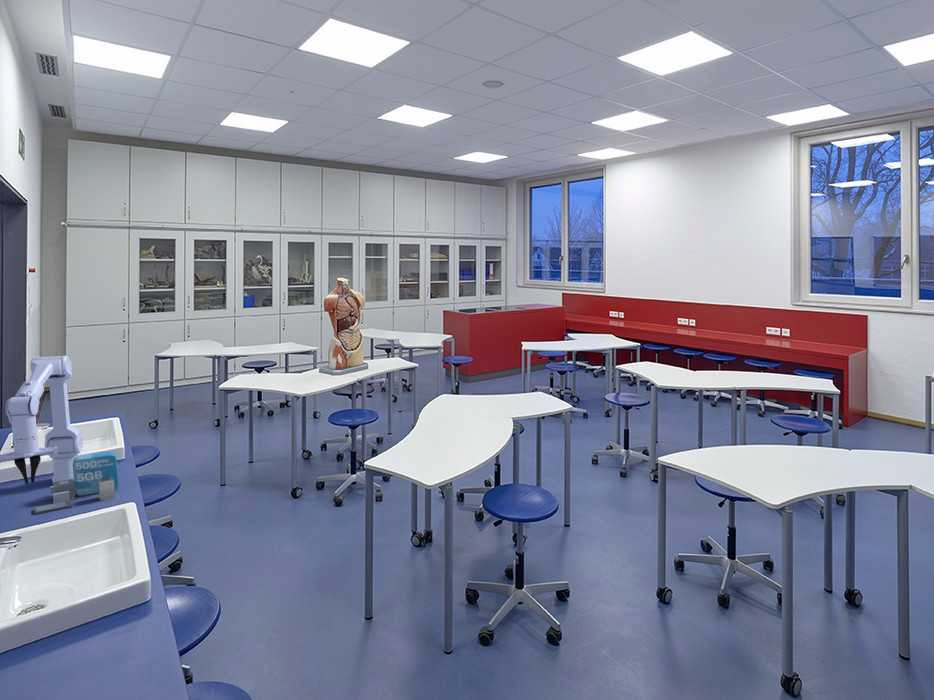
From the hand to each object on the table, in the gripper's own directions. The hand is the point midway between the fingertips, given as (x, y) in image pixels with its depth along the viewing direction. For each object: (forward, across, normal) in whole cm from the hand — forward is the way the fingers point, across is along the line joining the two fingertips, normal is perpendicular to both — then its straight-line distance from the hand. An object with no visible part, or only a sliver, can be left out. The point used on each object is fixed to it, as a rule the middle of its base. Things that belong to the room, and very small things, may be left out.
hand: (29, 482), depth 174 cm
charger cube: (+10, +9, +8) cm, 15 cm away
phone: (+10, +5, 0) cm, 11 cm away
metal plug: (+10, +19, 0) cm, 21 cm away
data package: (+10, +18, +9) cm, 22 cm away
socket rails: (+9, +8, +8) cm, 15 cm away
